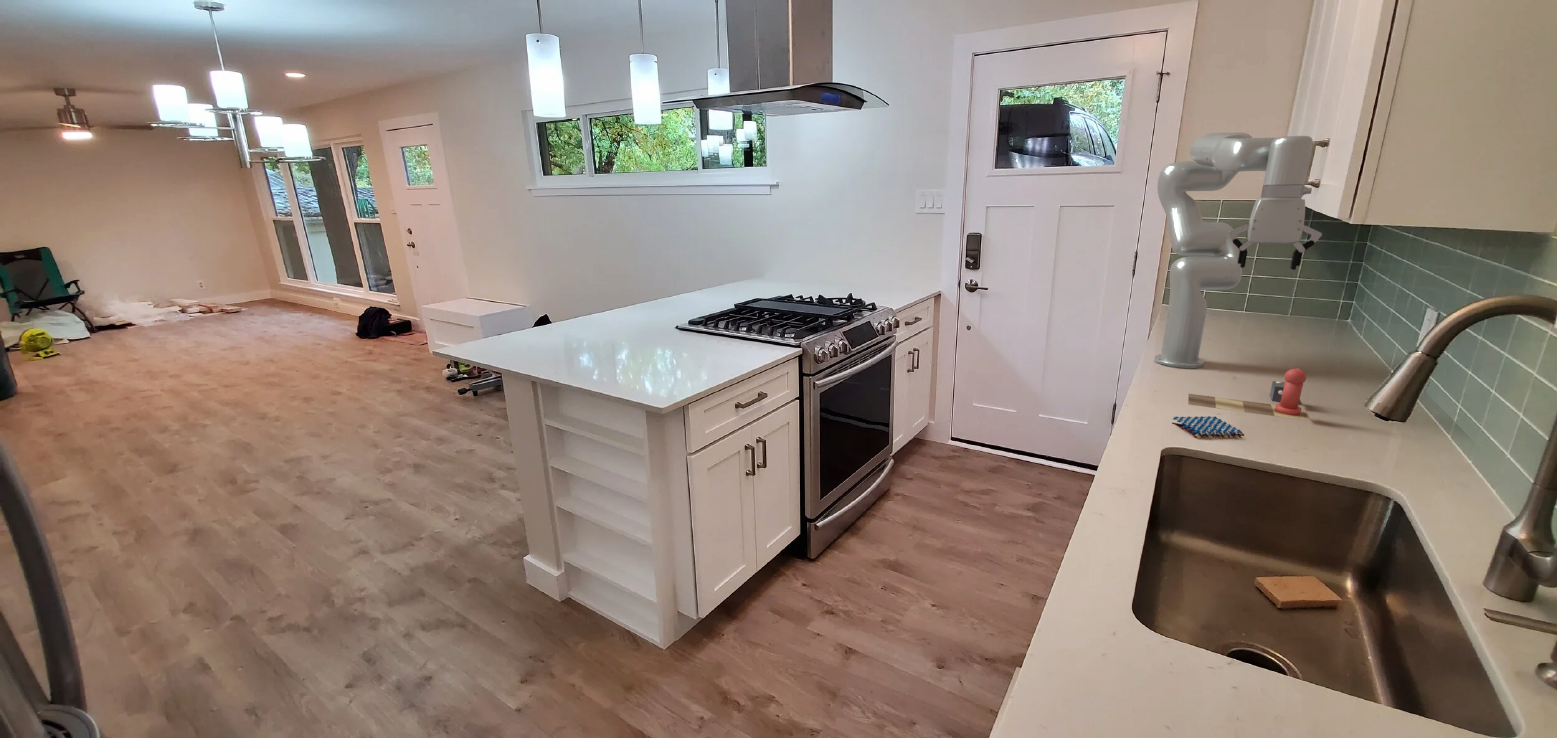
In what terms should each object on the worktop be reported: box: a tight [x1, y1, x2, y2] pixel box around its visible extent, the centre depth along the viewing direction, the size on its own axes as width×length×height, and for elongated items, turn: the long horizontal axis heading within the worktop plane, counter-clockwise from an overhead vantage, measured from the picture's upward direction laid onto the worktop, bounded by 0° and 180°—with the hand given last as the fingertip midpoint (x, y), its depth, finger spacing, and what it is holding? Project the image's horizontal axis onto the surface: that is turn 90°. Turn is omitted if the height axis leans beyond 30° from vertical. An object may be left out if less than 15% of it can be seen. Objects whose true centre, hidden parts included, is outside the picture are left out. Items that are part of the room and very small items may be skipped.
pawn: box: [1275, 368, 1307, 415], centre depth 143 cm, size 5×5×10 cm
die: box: [1269, 380, 1285, 403], centre depth 152 cm, size 5×5×5 cm
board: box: [1187, 393, 1306, 421], centre depth 149 cm, size 9×22×1 cm, turn 58°
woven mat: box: [1171, 415, 1245, 440], centre depth 138 cm, size 10×11×2 cm
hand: (1267, 268), depth 149 cm, fingers open, 9 cm apart
